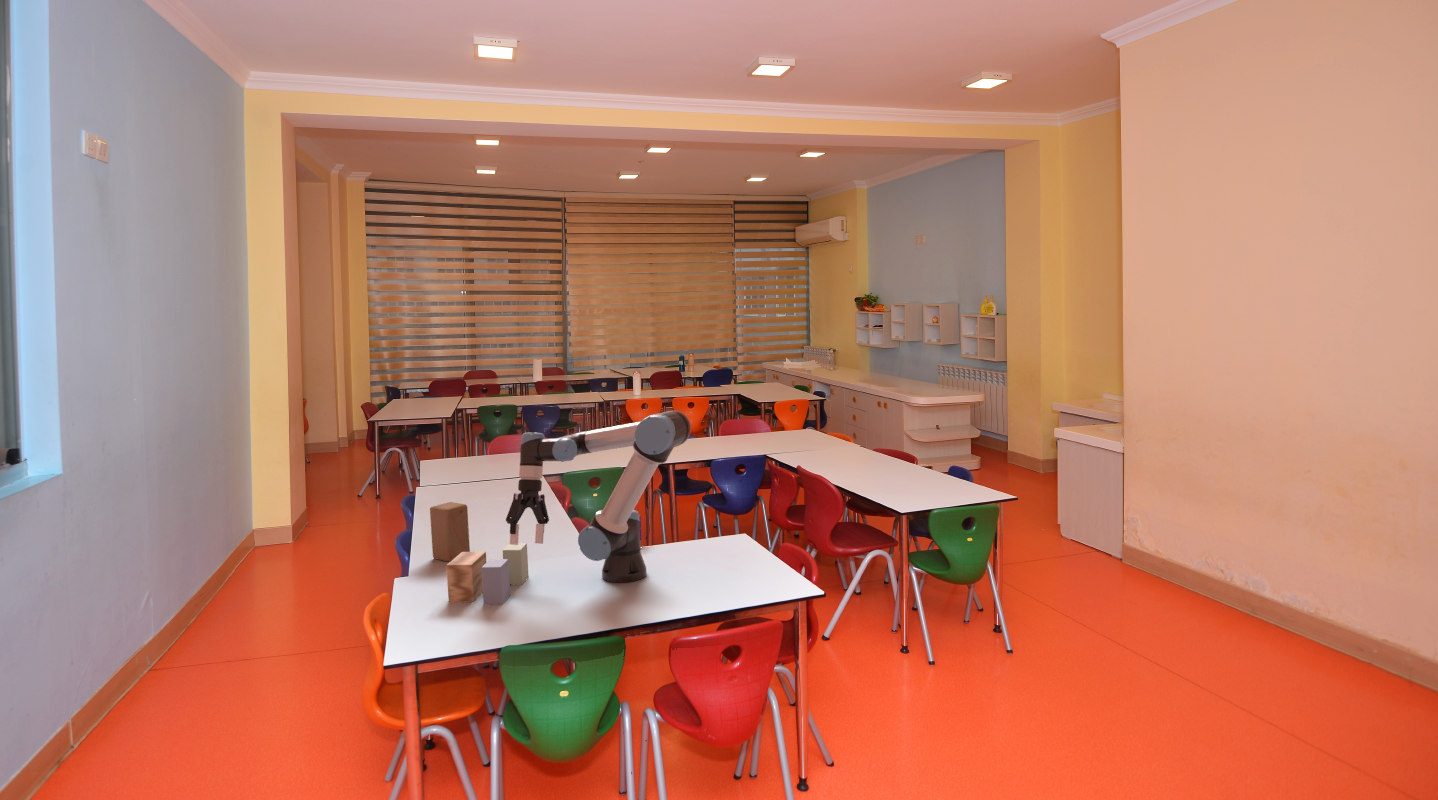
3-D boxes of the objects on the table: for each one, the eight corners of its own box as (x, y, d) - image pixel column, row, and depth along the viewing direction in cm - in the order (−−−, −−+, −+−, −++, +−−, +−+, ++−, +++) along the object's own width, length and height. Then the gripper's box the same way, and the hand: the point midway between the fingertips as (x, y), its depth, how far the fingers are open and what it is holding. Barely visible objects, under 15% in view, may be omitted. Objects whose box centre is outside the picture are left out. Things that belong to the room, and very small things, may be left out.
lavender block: (510, 595, 252) (508, 559, 251) (502, 604, 244) (500, 567, 243) (491, 595, 252) (489, 559, 251) (483, 604, 244) (481, 567, 243)
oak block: (487, 586, 261) (485, 551, 260) (473, 601, 247) (471, 564, 246) (464, 586, 261) (462, 551, 260) (448, 602, 247) (446, 565, 246)
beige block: (528, 577, 270) (526, 543, 268) (522, 584, 262) (520, 549, 261) (511, 577, 270) (509, 543, 269) (504, 585, 262) (502, 550, 261)
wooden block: (471, 555, 296) (468, 504, 294) (449, 563, 288) (446, 509, 286) (453, 552, 301) (450, 501, 299) (431, 559, 293) (428, 506, 291)
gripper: (543, 480, 273) (539, 542, 270) (497, 477, 250) (492, 544, 247) (561, 481, 270) (558, 543, 267) (516, 477, 247) (512, 545, 244)
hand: (526, 544), depth 257 cm, fingers open, 13 cm apart
